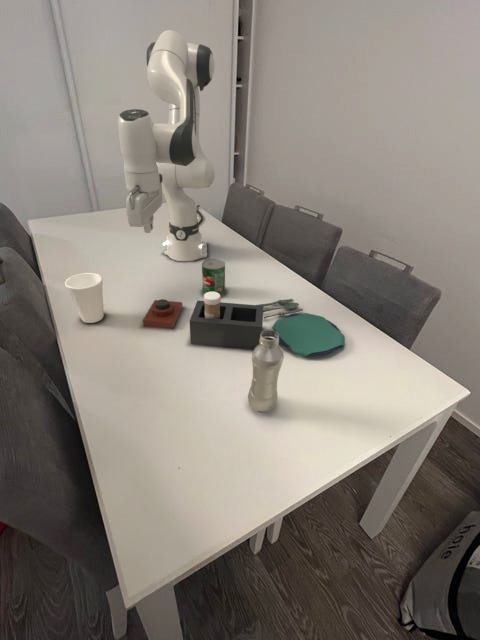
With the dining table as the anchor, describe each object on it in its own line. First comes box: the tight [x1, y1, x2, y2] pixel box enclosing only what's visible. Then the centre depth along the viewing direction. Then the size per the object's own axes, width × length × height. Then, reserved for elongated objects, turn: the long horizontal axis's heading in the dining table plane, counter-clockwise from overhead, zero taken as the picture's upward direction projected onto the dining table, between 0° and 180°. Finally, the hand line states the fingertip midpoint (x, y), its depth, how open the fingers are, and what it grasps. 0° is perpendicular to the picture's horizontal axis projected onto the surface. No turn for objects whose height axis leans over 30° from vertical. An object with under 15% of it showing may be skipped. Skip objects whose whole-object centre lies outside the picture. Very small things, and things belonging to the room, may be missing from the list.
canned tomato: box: [201, 258, 226, 297], centre depth 116 cm, size 8×8×11 cm
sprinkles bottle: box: [203, 292, 222, 319], centre depth 95 cm, size 5×5×14 cm
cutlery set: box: [258, 298, 346, 357], centre depth 102 cm, size 20×30×2 cm, turn 23°
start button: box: [156, 298, 169, 310], centre depth 103 cm, size 4×4×2 cm
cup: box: [64, 272, 104, 324], centre depth 99 cm, size 10×10×13 cm
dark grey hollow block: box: [189, 299, 265, 351], centre depth 96 cm, size 11×20×8 cm, turn 85°
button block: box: [142, 299, 183, 330], centre depth 104 cm, size 12×9×4 cm
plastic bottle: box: [247, 329, 285, 413], centre depth 72 cm, size 6×7×20 cm
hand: (149, 231), depth 98 cm, fingers closed
